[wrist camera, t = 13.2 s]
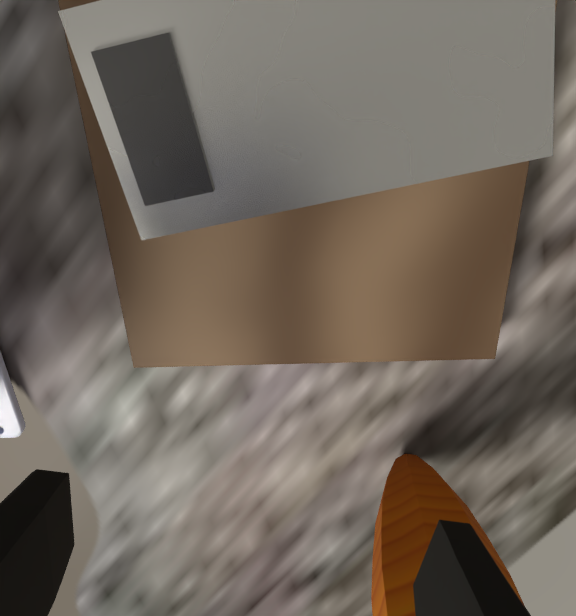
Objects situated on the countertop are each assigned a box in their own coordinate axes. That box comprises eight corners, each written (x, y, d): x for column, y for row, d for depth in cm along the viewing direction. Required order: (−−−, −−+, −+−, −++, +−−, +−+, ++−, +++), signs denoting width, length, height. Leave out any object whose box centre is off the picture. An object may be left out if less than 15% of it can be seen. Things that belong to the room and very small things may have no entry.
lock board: (143, 345, 21) (132, 370, 19) (-9, -453, 11) (-55, -525, 10) (482, 337, 21) (496, 361, 19) (612, -493, 11) (662, -572, 10)
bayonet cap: (448, 149, 16) (554, 238, 9) (214, 199, 16) (165, 311, 10) (428, -124, 13) (563, -266, 6) (144, -48, 13) (11, -109, 7)
